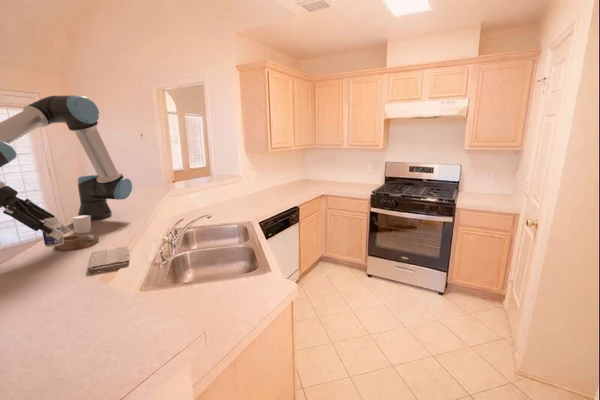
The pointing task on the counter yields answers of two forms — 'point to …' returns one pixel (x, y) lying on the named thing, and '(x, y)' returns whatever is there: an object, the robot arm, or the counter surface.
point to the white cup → (82, 223)
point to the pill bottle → (49, 239)
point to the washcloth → (109, 259)
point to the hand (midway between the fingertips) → (64, 234)
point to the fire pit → (77, 242)
